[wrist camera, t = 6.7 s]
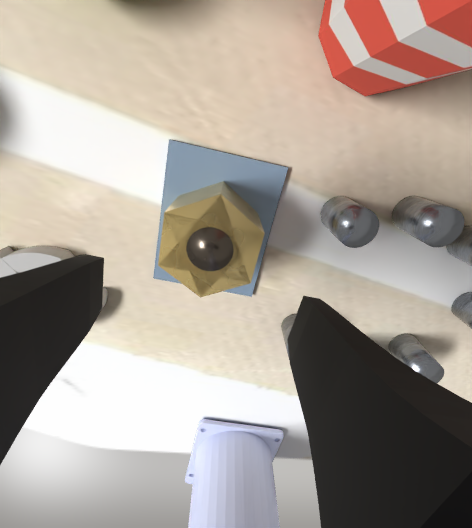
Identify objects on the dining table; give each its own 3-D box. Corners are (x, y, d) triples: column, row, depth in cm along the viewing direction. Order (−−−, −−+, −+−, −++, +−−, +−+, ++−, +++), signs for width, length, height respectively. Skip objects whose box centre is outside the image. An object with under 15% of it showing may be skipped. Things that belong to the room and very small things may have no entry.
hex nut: (242, 273, 20) (244, 305, 16) (169, 259, 19) (154, 289, 15) (263, 190, 17) (272, 205, 14) (181, 171, 17) (167, 182, 13)
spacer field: (435, 371, 24) (464, 404, 21) (274, 344, 23) (280, 375, 20) (536, 224, 19) (592, 241, 16) (333, 176, 17) (354, 185, 14)
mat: (251, 294, 21) (251, 296, 20) (154, 276, 20) (153, 278, 20) (287, 167, 17) (288, 167, 17) (170, 139, 16) (169, 139, 16)
